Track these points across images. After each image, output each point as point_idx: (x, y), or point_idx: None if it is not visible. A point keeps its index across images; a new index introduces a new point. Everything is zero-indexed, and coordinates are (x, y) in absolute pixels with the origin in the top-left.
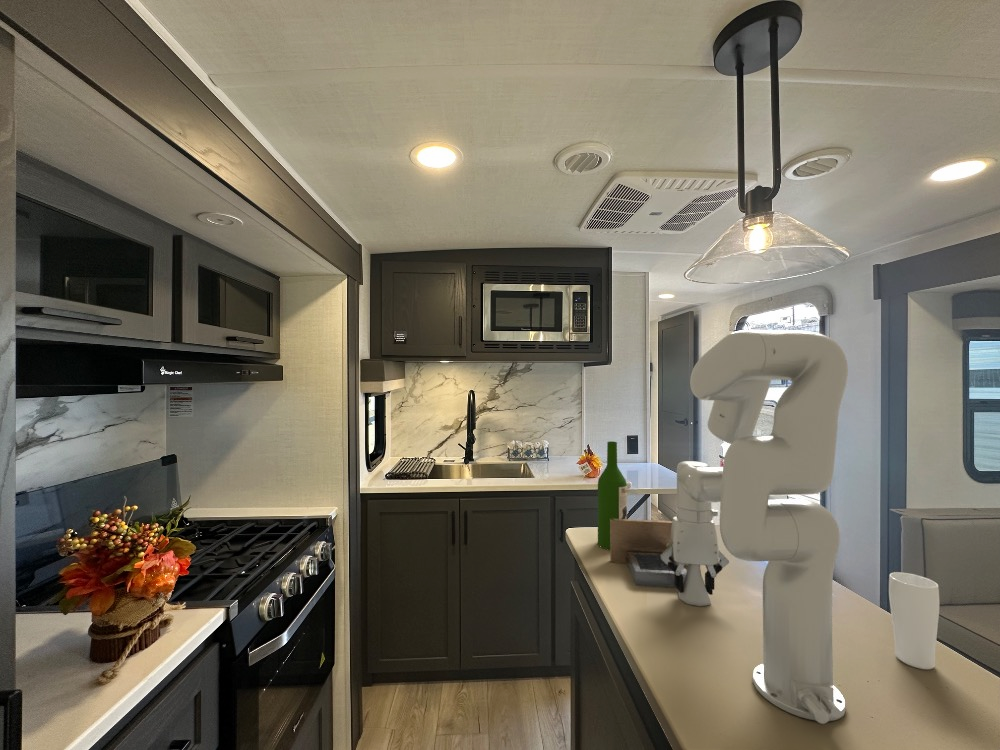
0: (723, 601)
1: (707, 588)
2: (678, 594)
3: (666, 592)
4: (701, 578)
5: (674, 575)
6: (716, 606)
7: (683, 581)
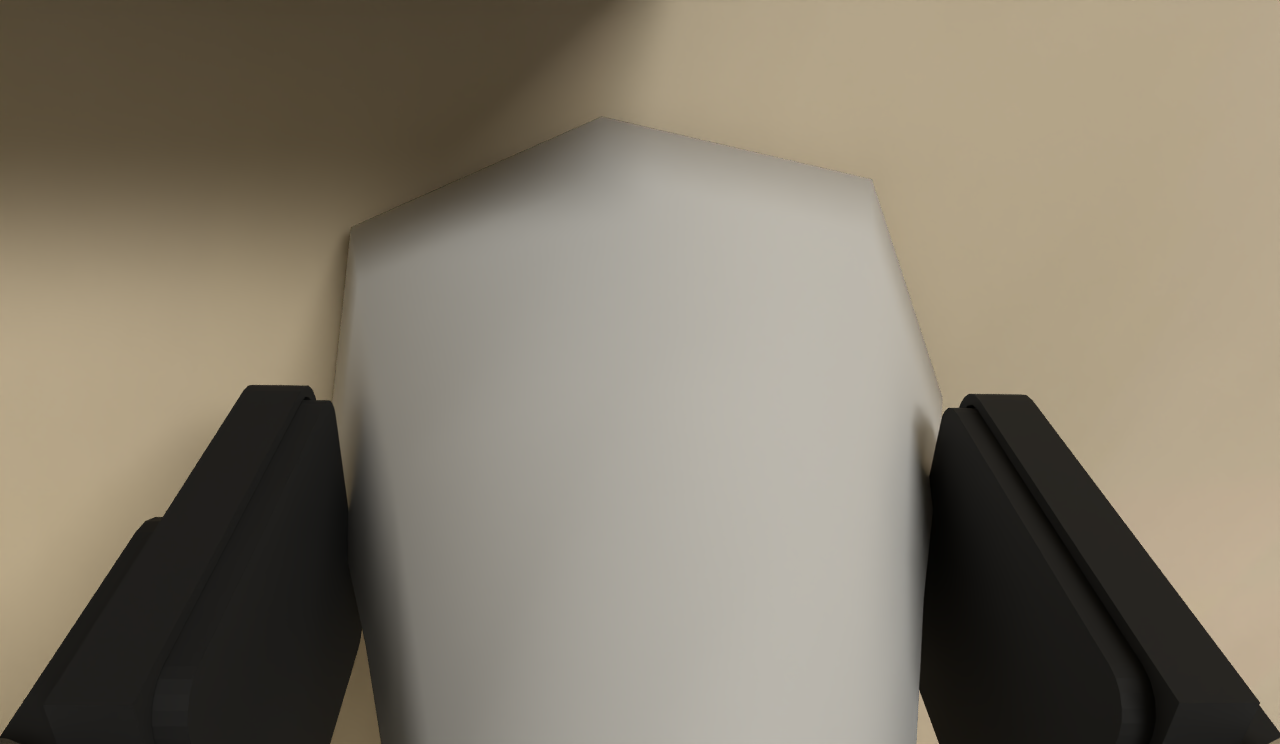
0: (1164, 422)
1: (938, 603)
2: (342, 309)
3: (92, 182)
4: None
5: (33, 702)
6: None
7: (383, 538)
